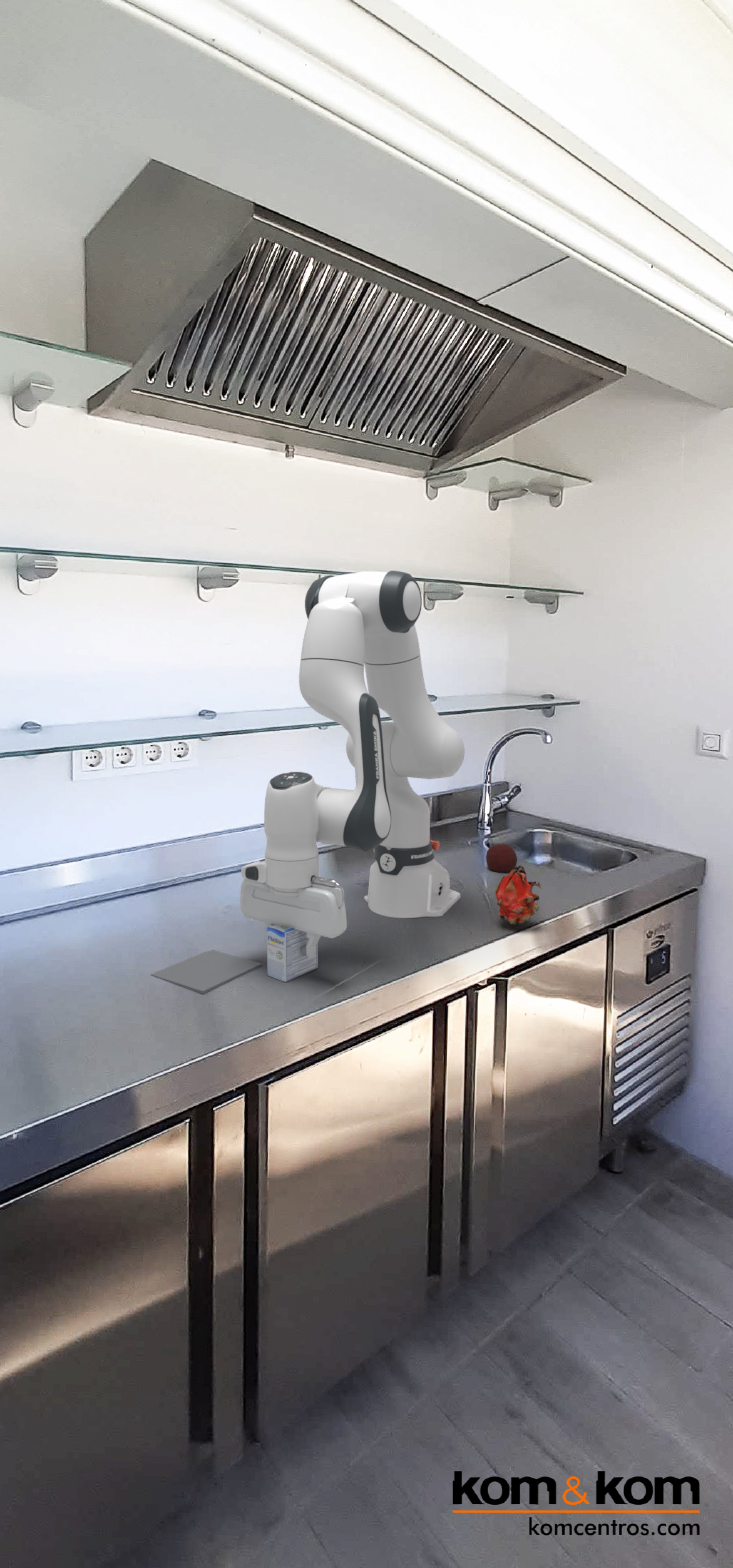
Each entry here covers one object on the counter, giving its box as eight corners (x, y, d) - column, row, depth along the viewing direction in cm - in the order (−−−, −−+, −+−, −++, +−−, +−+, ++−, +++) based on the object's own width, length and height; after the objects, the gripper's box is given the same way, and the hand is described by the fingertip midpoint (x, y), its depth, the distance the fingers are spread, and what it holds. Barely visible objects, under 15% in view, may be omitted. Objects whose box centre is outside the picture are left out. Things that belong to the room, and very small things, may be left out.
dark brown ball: (479, 870, 203) (480, 842, 202) (506, 867, 206) (506, 839, 205) (496, 878, 197) (497, 849, 195) (523, 874, 200) (524, 846, 199)
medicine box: (299, 962, 143) (299, 914, 142) (318, 969, 140) (318, 920, 139) (266, 976, 137) (265, 926, 136) (285, 983, 134) (285, 932, 133)
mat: (211, 952, 148) (211, 949, 148) (262, 966, 141) (261, 963, 141) (150, 977, 136) (150, 974, 136) (203, 994, 130) (203, 991, 130)
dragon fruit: (517, 935, 157) (520, 874, 155) (484, 924, 163) (486, 865, 161) (546, 926, 162) (548, 867, 160) (512, 915, 169) (514, 858, 167)
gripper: (354, 877, 133) (354, 959, 135) (258, 859, 144) (259, 934, 146) (331, 886, 128) (331, 971, 130) (233, 866, 139) (235, 945, 141)
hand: (292, 951), depth 138 cm, fingers open, 5 cm apart
